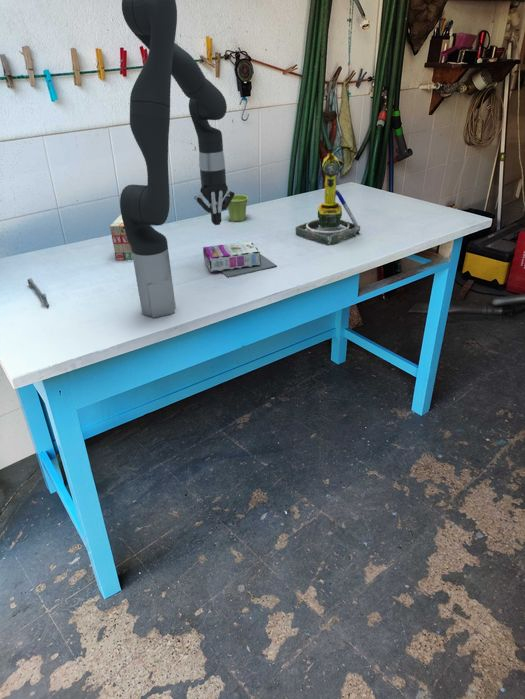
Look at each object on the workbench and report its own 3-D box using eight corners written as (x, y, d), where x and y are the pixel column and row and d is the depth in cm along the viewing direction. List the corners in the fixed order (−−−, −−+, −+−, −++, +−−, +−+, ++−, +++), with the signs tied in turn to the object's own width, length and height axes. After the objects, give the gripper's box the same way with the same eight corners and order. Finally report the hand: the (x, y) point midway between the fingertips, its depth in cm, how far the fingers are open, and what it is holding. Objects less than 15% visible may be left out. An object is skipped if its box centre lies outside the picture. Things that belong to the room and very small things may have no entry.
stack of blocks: (132, 239, 194) (127, 206, 187) (149, 239, 193) (144, 206, 187) (116, 261, 175) (109, 225, 169) (134, 261, 175) (128, 225, 169)
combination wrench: (26, 276, 158) (42, 297, 144) (30, 275, 159) (47, 296, 144) (29, 287, 160) (46, 309, 145) (33, 286, 161) (50, 308, 146)
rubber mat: (276, 266, 166) (276, 265, 166) (227, 277, 160) (227, 276, 160) (249, 248, 182) (249, 246, 182) (204, 257, 175) (203, 255, 175)
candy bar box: (210, 273, 162) (261, 266, 166) (208, 258, 160) (260, 251, 163) (204, 261, 172) (252, 254, 175) (202, 246, 169) (251, 240, 172)
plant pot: (221, 219, 211) (219, 198, 206) (239, 214, 216) (237, 193, 211) (236, 224, 205) (234, 202, 200) (254, 219, 210) (253, 197, 205)
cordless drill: (290, 235, 192) (290, 156, 177) (325, 223, 202) (328, 148, 188) (329, 247, 180) (332, 164, 165) (363, 234, 191) (369, 154, 176)
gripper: (195, 172, 149) (201, 231, 158) (237, 166, 154) (241, 223, 163) (186, 167, 155) (192, 224, 164) (227, 162, 160) (231, 217, 169)
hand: (216, 224), depth 164 cm, fingers closed
